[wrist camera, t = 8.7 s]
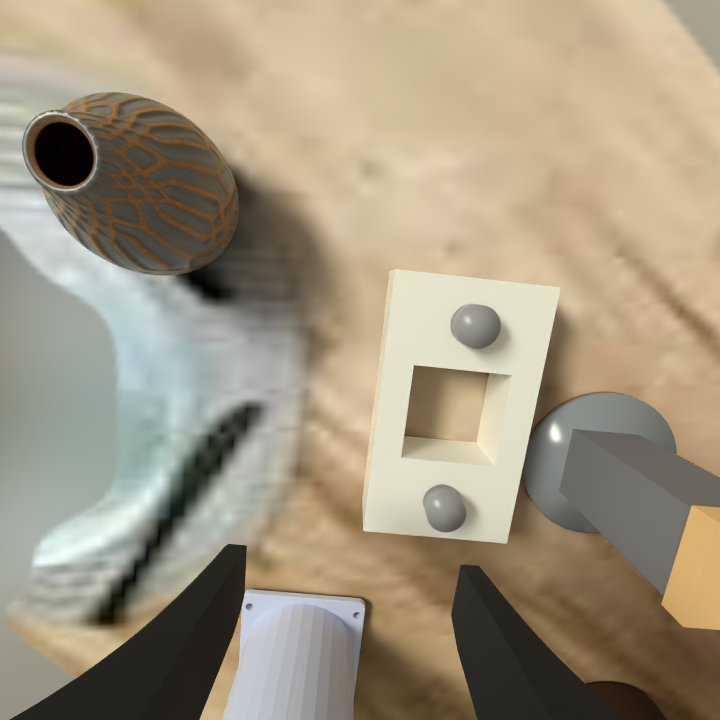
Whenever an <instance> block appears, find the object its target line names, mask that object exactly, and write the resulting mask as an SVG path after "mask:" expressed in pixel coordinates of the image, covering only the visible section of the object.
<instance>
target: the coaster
mask: <svg viewBox="0 0 720 720" xmlns="http://www.w3.org/2000/svg"><path fill="white" fill-rule="evenodd" d="M573 429H579V430H590V431H602V432H613V433H624V434H635V435H640V436H642V437H644V438H646V439H648V440H650V441H652V442H653V443H655V444H657V445H659V446H661V447H663V448H665V449H667V450H669V451H670V452H672V453H674V454H676V445H675V440H674V437H673V434H672V431H671V429H670V427H669V425H668V424H667V422H666V420H665V419H664V418H663V417H662V415H661V414H660V413H658V412H657V411H656V410H655V409H654V408H653V407H651V406H650V405H648V404H647V403H645V402H642V401H640V400H638V399H636V398H633V397H631V396H628V395H625V394H621V393H615V392H593V393H588V394H584V395H580V396H577V397H574V398H572V399H570V400H568V401H566V402H564V403H562V404H561V405H559V406H557V407H556V408H554V409H553V410H552V411H551V412H549V413H548V414H547V415H546V416H545V417H544V418H543V419H542V420H541V421H540V422H539V424H538V425H537V426H536V428H535V429H534V431H533V432H532V434H531V436H530V437H529V441H528V445H527V450H526V455H525V460H524V464H523V469H522V475H523V482H524V485H525V488H526V491H527V493H528V495H529V497H530V498H531V500H532V501H533V503H534V504H535V505H536V507H537V508H538V509H539V510H540V511H541V512H542V513H543V514H544V515H545V516H546V517H547V518H548V519H549V520H551V521H552V522H554V523H556V524H557V525H559V526H561V527H564V528H566V529H569V530H573V531H578V532H585V533H596V532H599V531H598V530H597V528H596V527H595V526H594V525H593V524H592V523H591V522H590V521H589V520H588V519H587V518H586V517H585V516H584V515H583V514H582V513H581V512H580V511H579V510H578V509H577V508H576V507H575V506H574V505H573V504H572V503H571V502H570V501H569V500H568V499H567V498H566V497H565V496H564V495H563V494H562V493H561V492H560V491H559V488H560V484H561V480H562V475H563V471H564V466H565V462H566V457H567V453H568V449H569V444H570V440H571V435H572V431H573Z"/></svg>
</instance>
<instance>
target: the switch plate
mask: <svg viewBox="0 0 720 720" xmlns="http://www.w3.org/2000/svg"><path fill="white" fill-rule="evenodd" d="M560 289H561V288H560V287H551V286H542V285H533V284H524V283H515V282H506V281H497V280H488V279H479V278H470V277H461V276H452V275H443V274H433V273H424V272H415V271H406V270H397V269H395V270H392V271H390V273H389V281H388V289H387V298H386V306H385V314H384V323H383V331H382V340H381V348H380V356H379V365H378V373H377V381H376V390H375V398H374V407H373V415H372V423H371V432H370V440H369V448H368V457H367V465H366V474H365V482H364V490H363V499H362V504H363V531H370V532H381V533H393V534H404V535H415V536H427V537H438V538H449V539H461V540H472V541H484V542H495V543H506V544H507V540H508V535H509V531H510V526H511V521H512V516H513V512H514V507H515V502H516V497H517V493H518V488H519V483H520V479H521V474H522V469H523V464H524V460H525V455H526V450H527V445H528V441H529V436H530V431H531V426H532V422H533V417H534V412H535V407H536V403H537V398H538V393H539V388H540V384H541V379H542V374H543V369H544V365H545V360H546V355H547V350H548V346H549V341H550V336H551V331H552V327H553V322H554V317H555V313H556V308H557V303H558V298H559V294H560ZM414 365H418V366H428V367H438V368H447V369H457V370H467V371H477V372H486V373H489V377H488V382H487V388H486V393H485V399H484V404H483V410H482V415H481V421H480V426H479V432H478V437H477V443H474V442H464V441H453V440H443V439H433V438H422V437H412V436H404V432H405V425H406V418H407V411H408V404H409V396H410V389H411V382H412V375H413V368H414Z"/></svg>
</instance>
